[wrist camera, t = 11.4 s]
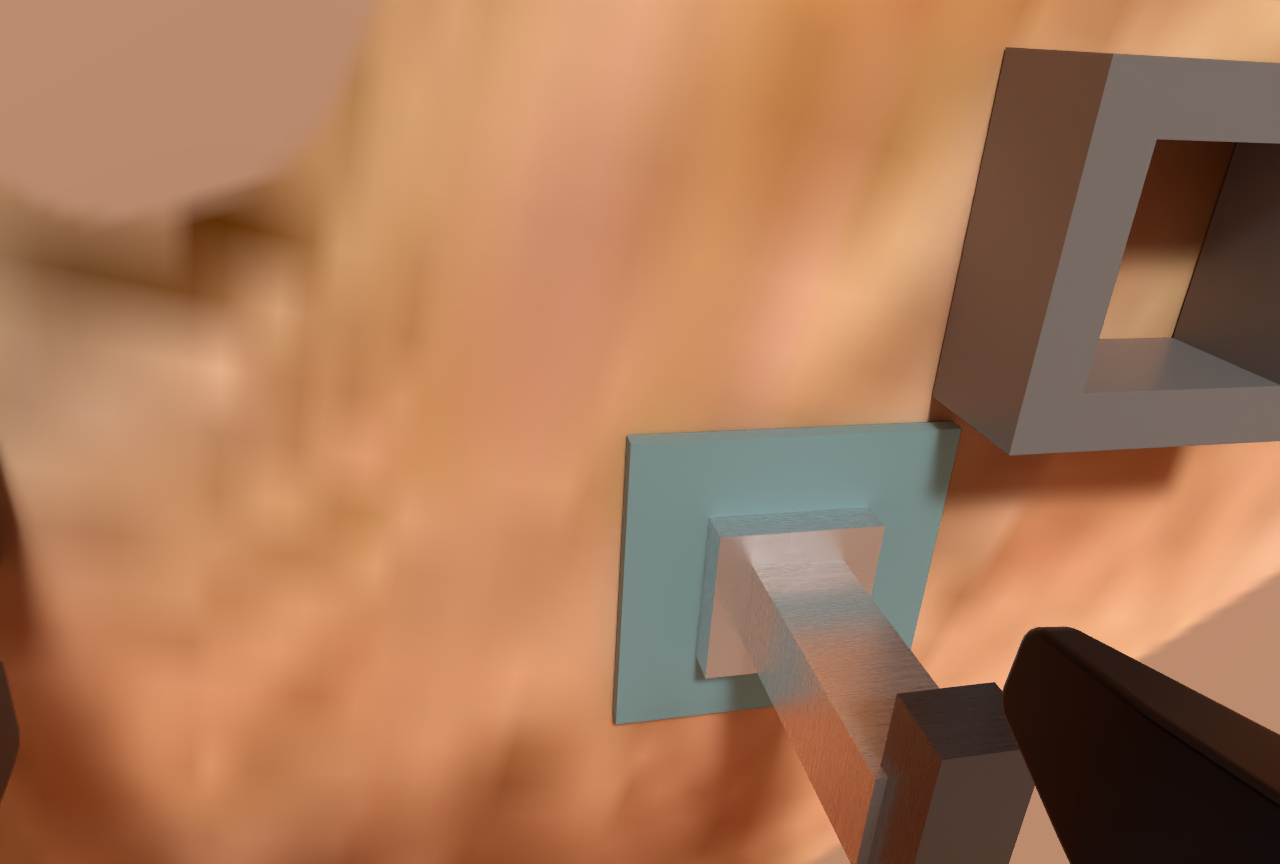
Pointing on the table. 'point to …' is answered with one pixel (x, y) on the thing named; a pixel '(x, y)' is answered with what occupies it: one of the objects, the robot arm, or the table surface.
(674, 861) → the table surface
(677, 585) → the key mat
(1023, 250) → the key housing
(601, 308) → the table surface
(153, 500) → the table surface
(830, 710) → the t key
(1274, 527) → the table surface
